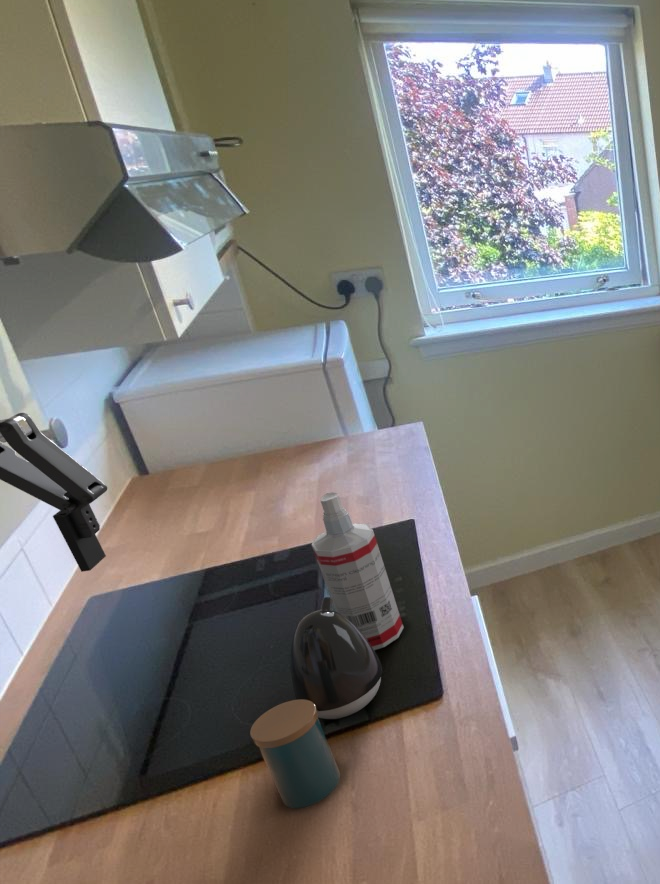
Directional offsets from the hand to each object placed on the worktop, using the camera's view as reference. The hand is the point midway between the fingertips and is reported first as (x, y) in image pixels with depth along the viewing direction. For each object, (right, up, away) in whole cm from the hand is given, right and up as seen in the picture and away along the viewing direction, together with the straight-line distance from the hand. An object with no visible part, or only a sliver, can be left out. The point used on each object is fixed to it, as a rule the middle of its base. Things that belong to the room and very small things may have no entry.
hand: (14, 575), depth 74 cm
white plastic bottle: (+13, -17, +40) cm, 46 cm away
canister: (+20, -29, +15) cm, 38 cm away
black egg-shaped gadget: (+17, -23, +28) cm, 40 cm away
